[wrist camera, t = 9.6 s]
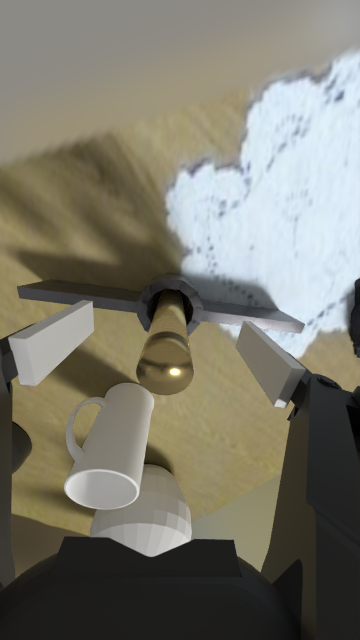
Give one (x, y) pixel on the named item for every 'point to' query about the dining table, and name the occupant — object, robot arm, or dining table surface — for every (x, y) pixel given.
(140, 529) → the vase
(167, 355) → the pin
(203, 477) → the dining table surface
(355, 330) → the dark slate chunk
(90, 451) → the mug
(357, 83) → the dining table surface
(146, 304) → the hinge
